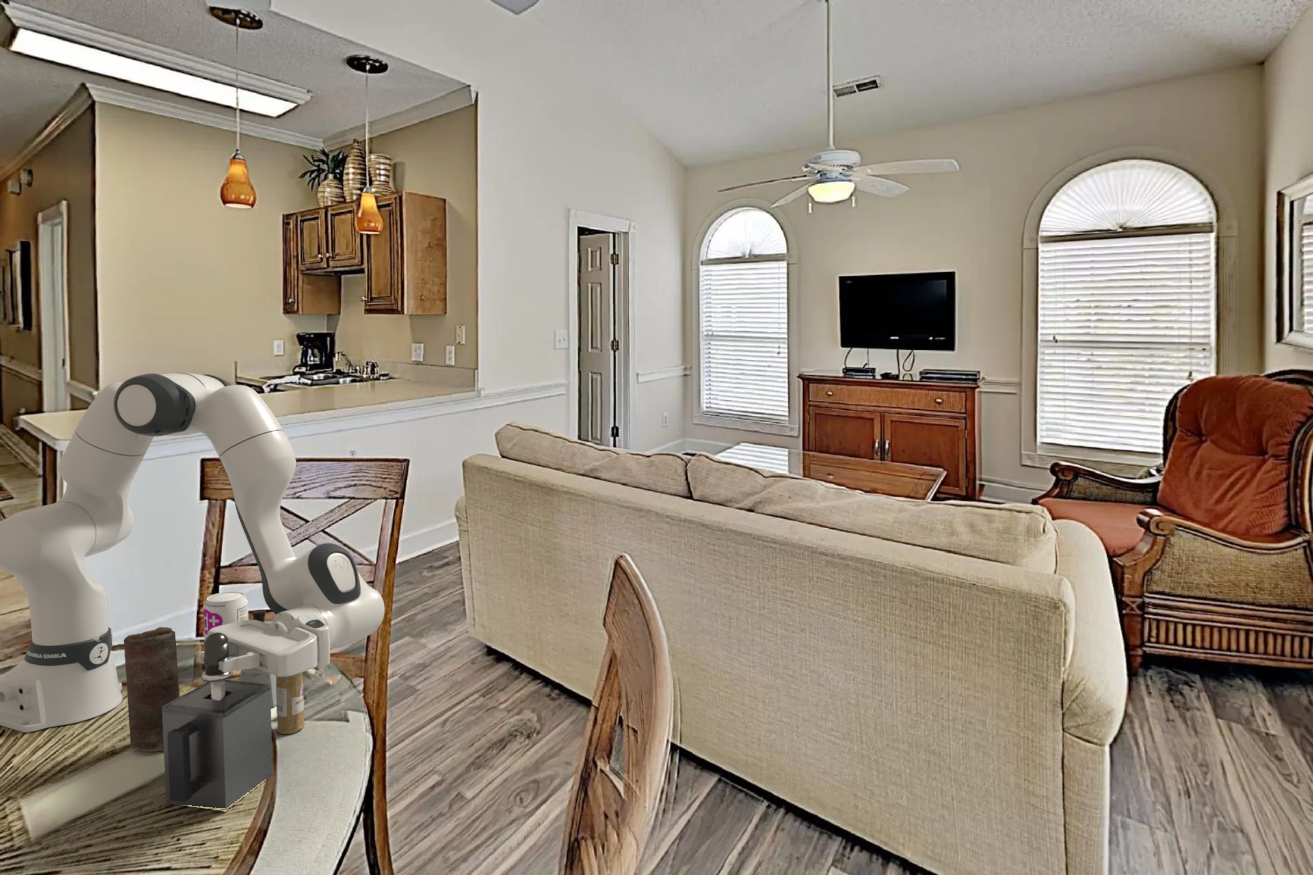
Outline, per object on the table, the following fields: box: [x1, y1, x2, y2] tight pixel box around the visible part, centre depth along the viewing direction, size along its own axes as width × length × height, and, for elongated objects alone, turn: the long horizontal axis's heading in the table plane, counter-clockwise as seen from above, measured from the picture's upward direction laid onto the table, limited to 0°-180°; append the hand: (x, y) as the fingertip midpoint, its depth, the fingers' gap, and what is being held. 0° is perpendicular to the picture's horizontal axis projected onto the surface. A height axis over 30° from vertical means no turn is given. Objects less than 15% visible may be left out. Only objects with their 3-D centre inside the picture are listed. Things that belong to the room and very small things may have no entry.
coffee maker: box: [239, 609, 277, 709], centre depth 143 cm, size 15×9×18 cm, turn 34°
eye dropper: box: [201, 632, 234, 701], centre depth 112 cm, size 8×8×22 cm
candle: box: [123, 626, 181, 753], centre depth 125 cm, size 8×7×20 cm
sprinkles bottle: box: [276, 672, 306, 735], centre depth 132 cm, size 5×5×14 cm
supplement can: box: [202, 591, 249, 643], centre depth 159 cm, size 8×8×15 cm
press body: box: [162, 679, 274, 808], centre depth 111 cm, size 10×13×15 cm
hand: (211, 663), depth 111 cm, fingers open, 4 cm apart
